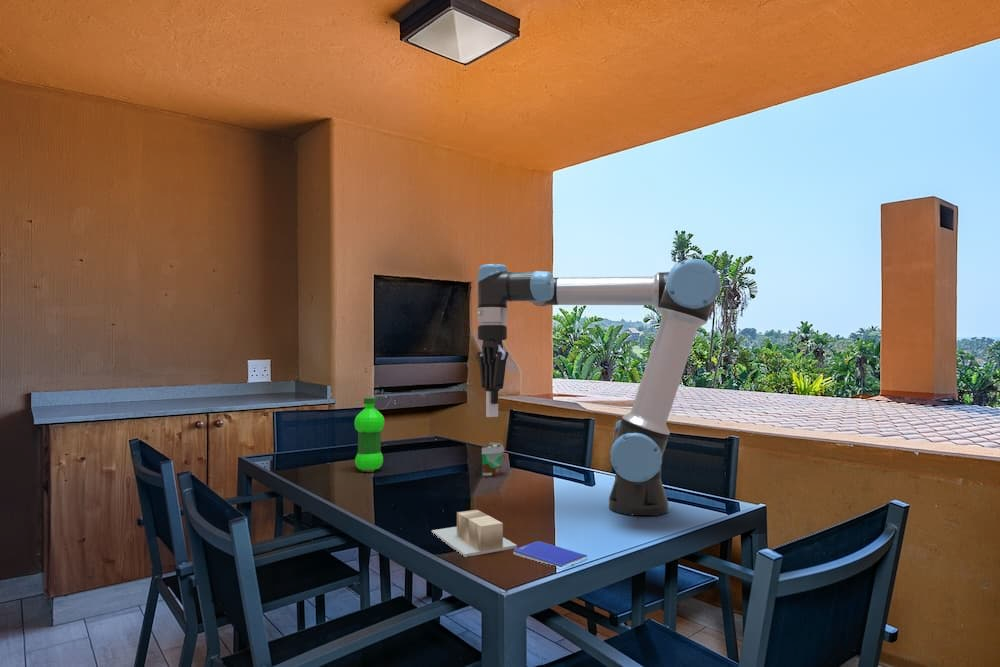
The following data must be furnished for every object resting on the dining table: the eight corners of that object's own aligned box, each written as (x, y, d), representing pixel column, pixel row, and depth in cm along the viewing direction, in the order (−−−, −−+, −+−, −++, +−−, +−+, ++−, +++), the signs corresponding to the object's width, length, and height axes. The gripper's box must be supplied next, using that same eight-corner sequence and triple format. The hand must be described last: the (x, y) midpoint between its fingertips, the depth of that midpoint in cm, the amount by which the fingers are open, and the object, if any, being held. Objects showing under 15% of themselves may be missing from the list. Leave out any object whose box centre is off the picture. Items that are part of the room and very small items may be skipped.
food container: (500, 479, 191) (500, 448, 192) (481, 478, 193) (481, 447, 193) (507, 472, 203) (507, 442, 204) (489, 471, 205) (489, 442, 205)
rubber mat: (431, 533, 134) (431, 530, 134) (479, 525, 140) (479, 523, 140) (464, 557, 118) (464, 554, 118) (516, 548, 124) (516, 545, 124)
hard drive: (513, 549, 120) (561, 564, 112) (539, 540, 126) (587, 554, 118) (513, 556, 120) (561, 572, 112) (539, 547, 126) (587, 562, 118)
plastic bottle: (347, 472, 202) (348, 398, 203) (367, 467, 212) (367, 396, 213) (371, 475, 198) (372, 399, 199) (390, 469, 207) (390, 397, 208)
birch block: (456, 512, 131) (481, 526, 120) (477, 509, 133) (502, 523, 123) (456, 535, 131) (481, 551, 120) (477, 532, 133) (502, 547, 123)
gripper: (468, 325, 157) (468, 414, 157) (490, 323, 146) (490, 419, 145) (493, 326, 161) (493, 413, 160) (517, 324, 149) (517, 418, 149)
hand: (492, 416), depth 153 cm, fingers closed
